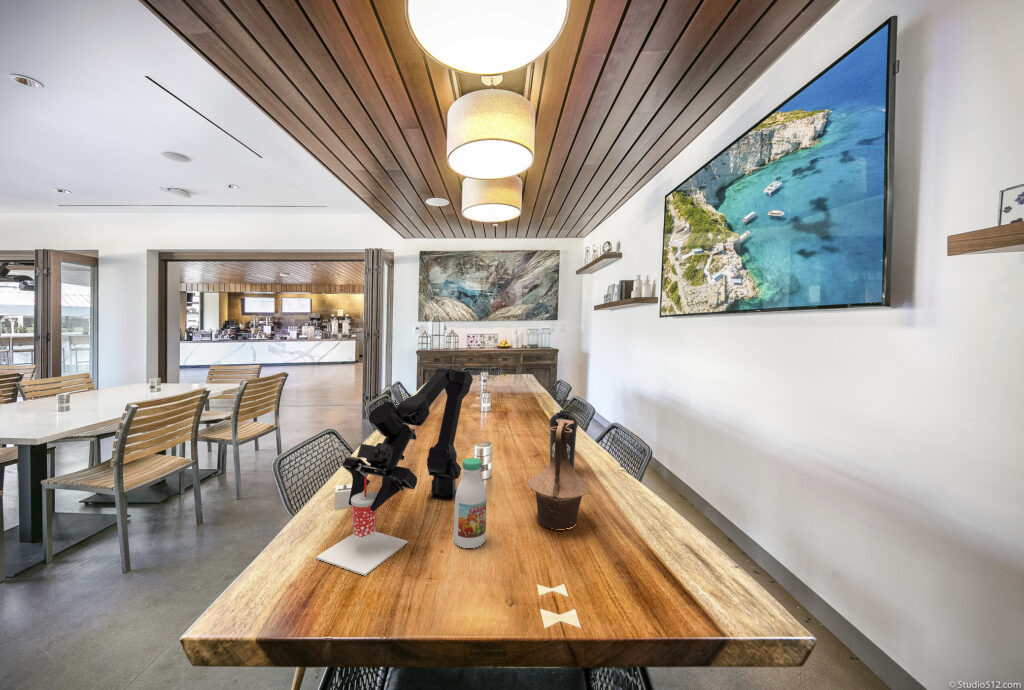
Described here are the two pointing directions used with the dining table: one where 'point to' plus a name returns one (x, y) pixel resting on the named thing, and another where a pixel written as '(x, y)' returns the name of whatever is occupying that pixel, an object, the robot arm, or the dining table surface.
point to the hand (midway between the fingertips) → (360, 507)
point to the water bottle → (572, 438)
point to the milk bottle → (470, 506)
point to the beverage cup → (363, 515)
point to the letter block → (342, 496)
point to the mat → (362, 552)
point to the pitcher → (559, 485)
